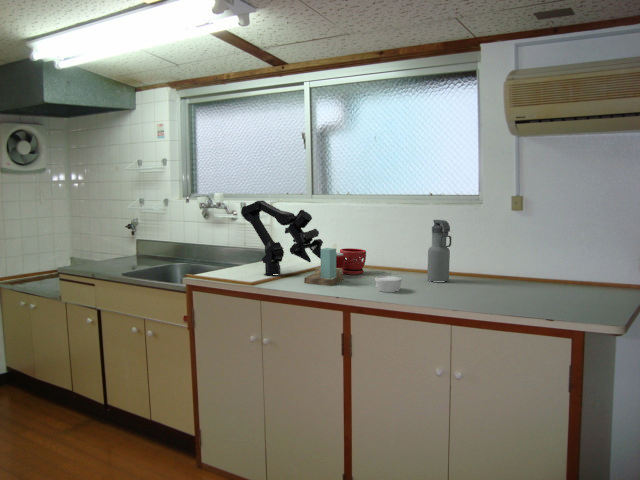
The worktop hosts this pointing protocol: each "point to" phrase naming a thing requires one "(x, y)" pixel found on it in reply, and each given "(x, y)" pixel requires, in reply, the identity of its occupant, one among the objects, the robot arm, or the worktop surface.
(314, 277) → the baseplate
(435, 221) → the water bottle
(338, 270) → the beam
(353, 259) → the plant pot
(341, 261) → the canned food
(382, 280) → the ramekin
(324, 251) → the column
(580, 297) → the worktop surface
